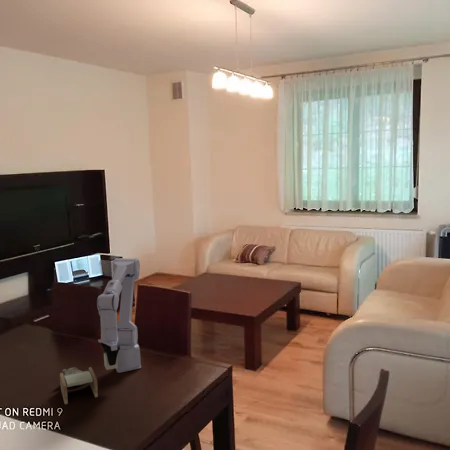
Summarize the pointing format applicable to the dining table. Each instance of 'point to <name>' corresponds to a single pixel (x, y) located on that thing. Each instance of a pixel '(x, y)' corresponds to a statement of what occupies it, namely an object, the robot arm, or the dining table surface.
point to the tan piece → (92, 384)
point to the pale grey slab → (78, 378)
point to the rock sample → (71, 372)
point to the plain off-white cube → (108, 363)
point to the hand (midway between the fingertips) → (111, 362)
